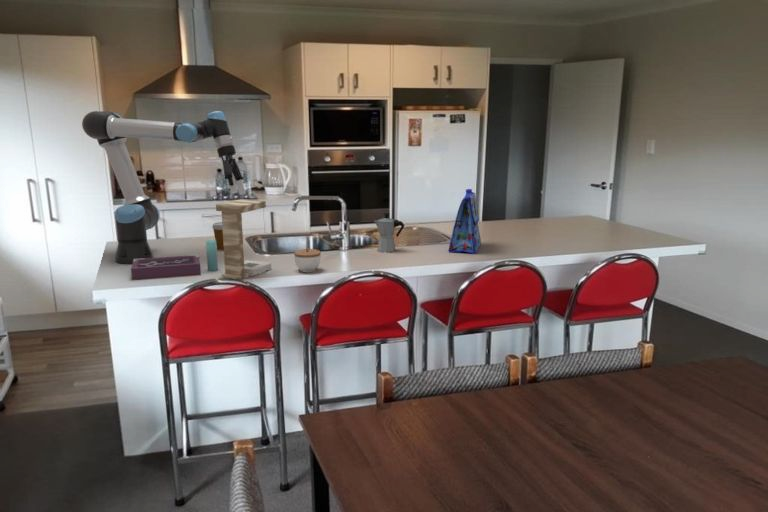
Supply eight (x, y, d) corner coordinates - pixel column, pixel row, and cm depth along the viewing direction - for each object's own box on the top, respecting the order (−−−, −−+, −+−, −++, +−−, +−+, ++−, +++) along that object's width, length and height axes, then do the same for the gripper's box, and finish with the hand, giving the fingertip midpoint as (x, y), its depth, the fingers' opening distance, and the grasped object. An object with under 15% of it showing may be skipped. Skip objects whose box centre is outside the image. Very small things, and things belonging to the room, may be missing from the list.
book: (199, 266, 245) (198, 254, 244) (201, 275, 230) (200, 263, 229) (134, 270, 237) (133, 258, 236) (132, 281, 222) (130, 268, 221)
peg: (209, 271, 235) (207, 242, 232) (206, 269, 238) (204, 240, 235) (219, 270, 237) (217, 241, 234) (216, 268, 240) (214, 239, 237)
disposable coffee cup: (228, 251, 270) (227, 225, 267) (209, 250, 272) (208, 225, 269) (237, 246, 279) (236, 222, 276) (219, 245, 281) (217, 221, 278)
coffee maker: (370, 251, 271) (370, 213, 266) (376, 247, 279) (376, 210, 275) (401, 254, 266) (401, 215, 262) (406, 250, 275) (406, 212, 270)
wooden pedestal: (243, 280, 222) (239, 206, 216) (218, 276, 227) (214, 204, 220) (268, 270, 237) (265, 201, 230) (244, 267, 242) (240, 199, 235)
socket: (253, 276, 228) (253, 270, 228) (229, 272, 233) (228, 266, 232) (271, 269, 239) (271, 263, 238) (247, 265, 244) (247, 260, 243)
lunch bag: (476, 254, 267) (479, 192, 260) (447, 252, 270) (449, 190, 263) (481, 244, 287) (484, 186, 280) (454, 243, 291) (456, 185, 284)
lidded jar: (296, 274, 231) (295, 251, 229) (293, 267, 241) (292, 245, 239) (323, 272, 234) (322, 250, 232) (318, 266, 244) (318, 244, 242)
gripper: (225, 140, 241) (239, 190, 243) (240, 148, 266) (253, 192, 268) (207, 145, 242) (222, 194, 243) (225, 152, 267) (238, 196, 268)
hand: (239, 193), depth 255 cm, fingers open, 13 cm apart
